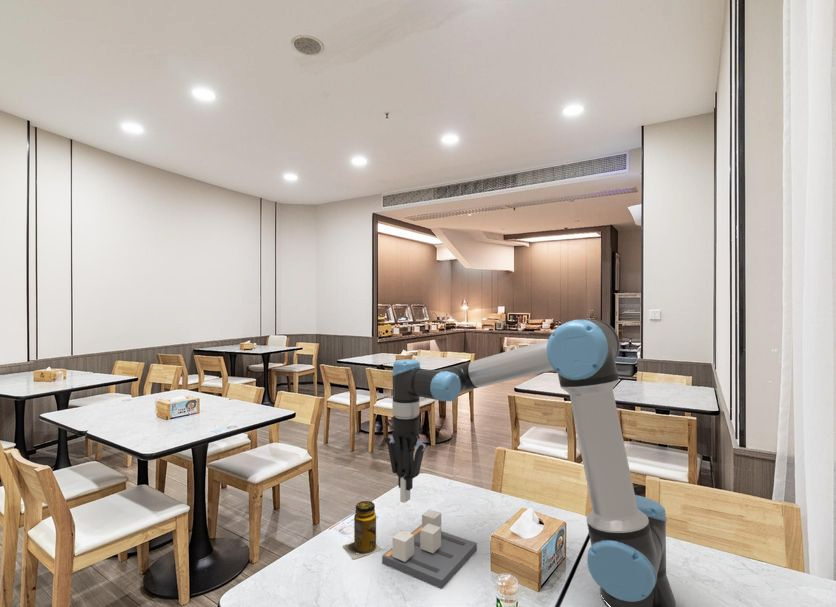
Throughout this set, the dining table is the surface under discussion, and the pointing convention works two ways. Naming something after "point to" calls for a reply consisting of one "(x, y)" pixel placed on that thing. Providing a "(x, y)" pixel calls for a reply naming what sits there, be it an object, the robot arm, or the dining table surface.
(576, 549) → the dining table surface
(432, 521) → the block
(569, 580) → the dining table surface
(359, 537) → the condiment
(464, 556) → the grey slotted panel board
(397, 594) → the dining table surface
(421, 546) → the block
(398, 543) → the block
